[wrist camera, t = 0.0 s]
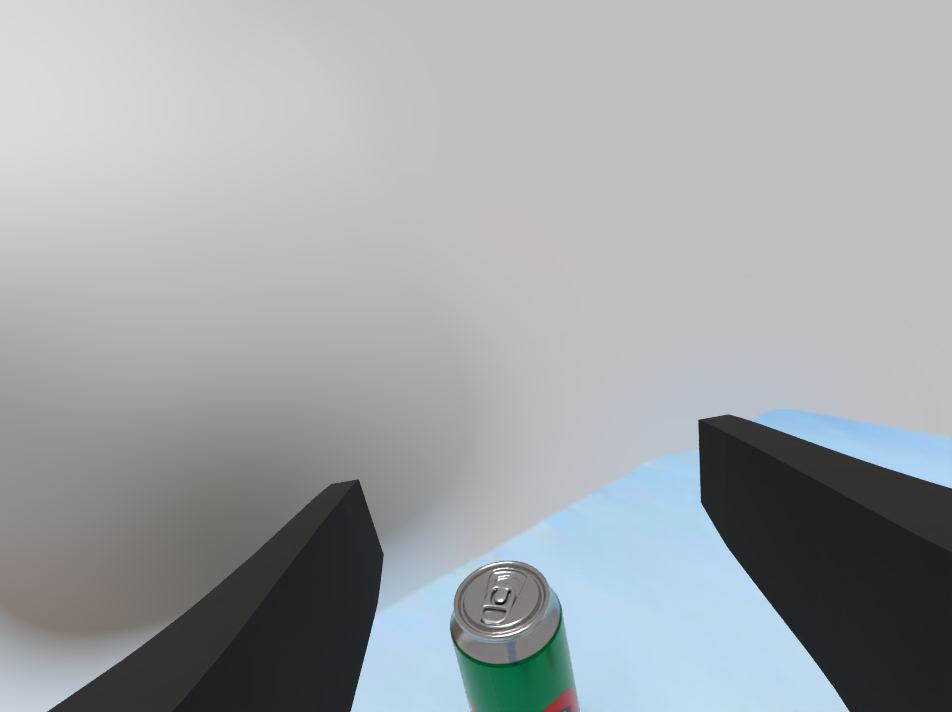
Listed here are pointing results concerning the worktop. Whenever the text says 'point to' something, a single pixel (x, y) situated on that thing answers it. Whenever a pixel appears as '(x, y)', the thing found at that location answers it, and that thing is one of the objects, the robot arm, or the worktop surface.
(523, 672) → the soda can
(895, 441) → the worktop surface
